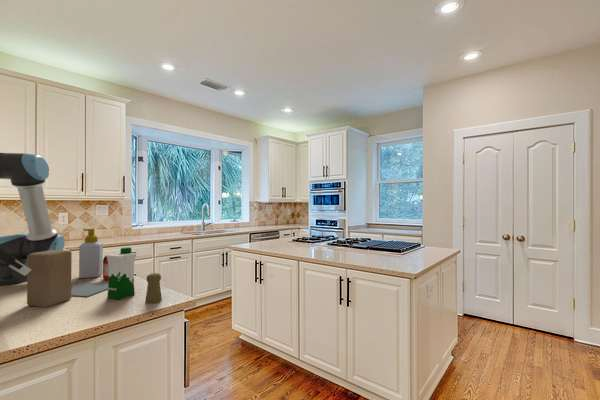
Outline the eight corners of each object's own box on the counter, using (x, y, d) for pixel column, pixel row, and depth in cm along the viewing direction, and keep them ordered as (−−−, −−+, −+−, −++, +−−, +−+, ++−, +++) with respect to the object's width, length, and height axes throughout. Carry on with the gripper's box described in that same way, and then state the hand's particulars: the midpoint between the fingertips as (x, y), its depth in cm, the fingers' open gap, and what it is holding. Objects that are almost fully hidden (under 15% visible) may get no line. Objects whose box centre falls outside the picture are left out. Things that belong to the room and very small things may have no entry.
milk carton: (138, 294, 125) (138, 248, 125) (118, 301, 117) (119, 251, 117) (123, 292, 128) (123, 246, 128) (103, 298, 120) (103, 250, 120)
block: (46, 308, 109) (47, 254, 109) (25, 306, 111) (26, 253, 111) (72, 299, 119) (72, 250, 119) (52, 297, 121) (53, 249, 121)
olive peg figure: (145, 304, 113) (145, 276, 113) (145, 300, 119) (145, 272, 119) (162, 302, 116) (162, 274, 116) (161, 297, 121) (161, 271, 121)
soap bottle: (83, 274, 157) (83, 228, 157) (102, 273, 161) (103, 227, 161) (78, 279, 149) (78, 230, 149) (99, 277, 153) (99, 229, 153)
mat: (86, 283, 142) (86, 282, 142) (119, 284, 139) (119, 283, 139) (50, 294, 124) (50, 293, 124) (87, 297, 121) (87, 295, 121)
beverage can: (120, 277, 153) (120, 254, 153) (111, 280, 147) (111, 256, 147) (109, 277, 153) (109, 254, 153) (99, 280, 147) (100, 256, 147)
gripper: (-57, 239, 95) (11, 278, 110) (-47, 242, 89) (25, 283, 103) (-33, 222, 100) (30, 262, 114) (-21, 223, 93) (44, 266, 108)
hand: (27, 272), depth 109 cm, fingers closed
